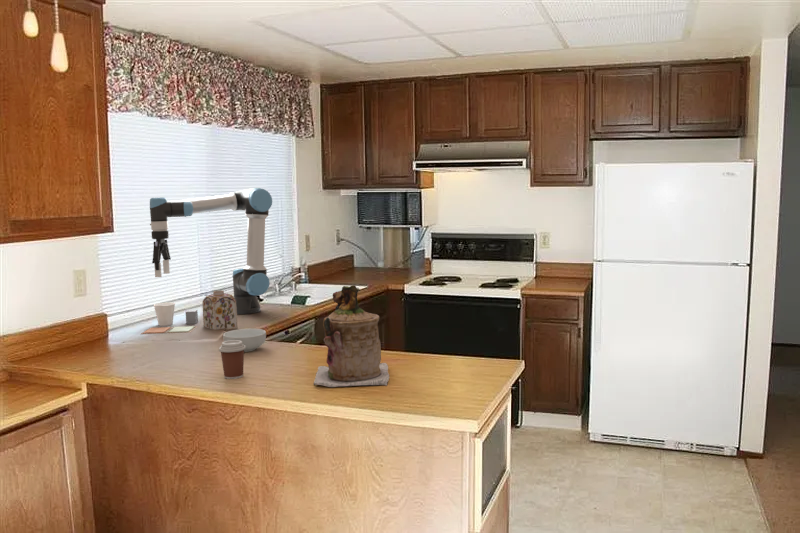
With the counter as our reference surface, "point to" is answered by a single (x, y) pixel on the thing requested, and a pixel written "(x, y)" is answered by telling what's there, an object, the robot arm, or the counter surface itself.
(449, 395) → the counter surface
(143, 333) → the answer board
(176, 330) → the pad
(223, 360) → the coffee cup
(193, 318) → the slate block
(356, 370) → the cookie jar
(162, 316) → the cup
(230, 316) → the decorative jar
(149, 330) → the pad
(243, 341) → the cereal bowl
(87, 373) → the counter surface
